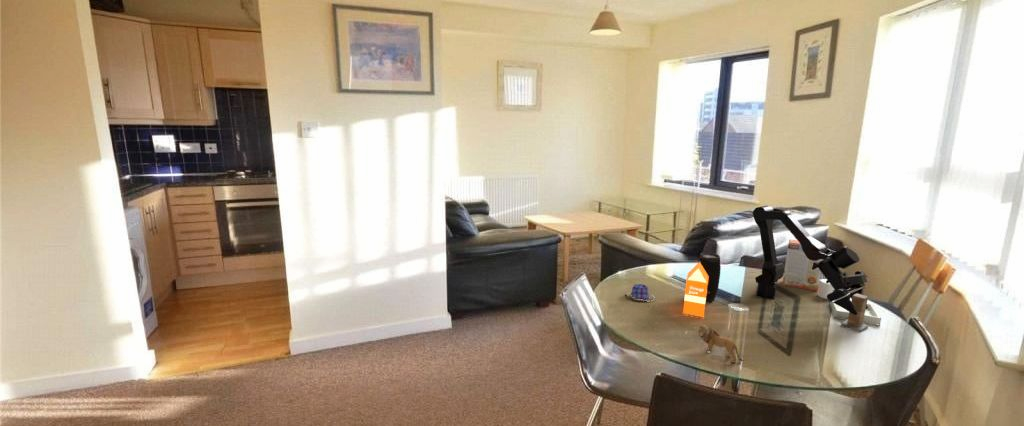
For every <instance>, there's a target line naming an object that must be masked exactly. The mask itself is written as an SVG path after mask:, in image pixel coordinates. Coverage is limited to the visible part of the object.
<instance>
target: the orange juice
mask: <svg viewBox="0 0 1024 426" xmlns="http://www.w3.org/2000/svg"><path fill="white" fill-rule="evenodd" d="M708 278H709V276H708V275H707V273H706V271H705V270H704V268H703V266H702V265H701V263H700V262H699V263H698V262H697V263H696V264H695V266H693V268H691V269H690V270H689V271H688V273H687V277H686V281H685V283H686V284H685V293H684V301H683V309H682V310H683V311H682V314H683V313H685V314H690V315H695V316H700V317H703V318H705V310H706V309H705V307H706V302H707V300H706V294H707V285H708Z"/></svg>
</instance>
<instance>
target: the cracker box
mask: <svg viewBox="0 0 1024 426" xmlns="http://www.w3.org/2000/svg"><path fill="white" fill-rule="evenodd" d="M822 244H823V245H824V246H825V247H826V244H824V243H822ZM822 260H824V259H820V260H817V261H813V260H809V259H808V258H807V257H806V255H805V254H804V252H803V250H802V247H801V244H800V243H799V241H798V240H797V239H789V240H788V245H787V251H786V258H785V264H784V271H785V273H784V275H783V277H782V285H783V286H788V287H793V288H799V289H803V290H804V289H805V290H809V291H815V292H818V289H819V279H821V276H822V275H821V274H822V272H821V271H820V270H819V268H816V269H814V270H812V266H813V263H814V262H820V261H822Z"/></svg>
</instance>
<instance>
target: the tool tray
mask: <svg viewBox="0 0 1024 426" xmlns="http://www.w3.org/2000/svg"><path fill="white" fill-rule="evenodd" d="M834 301H836V300H834ZM834 301H832V302H829V307H830V309H831V311H832V314H833V316H834V318H835V319H836V318H837V319H841V320H847V319H848V316H849V311H847V310H846V309H844V308H842V307H840V306H839V305H837V304H835V303H833V302H834ZM867 306H868V308H867V309H866V310H865V314H864V319H863V324H869V323H871V324H870V325H874V324H879V325H878V326H880V325H881V320H882V316H880V314H879V312H878V311H877V310H876V307H875V306H874V304H873V303H868V302H867Z"/></svg>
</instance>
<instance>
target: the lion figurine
mask: <svg viewBox="0 0 1024 426" xmlns="http://www.w3.org/2000/svg"><path fill="white" fill-rule="evenodd" d="M697 335H698V337H699V338H700V339H702V340H703V342H704V343H705V344H707V345H708V347H707V349H708V348H709V349H708V351H710V352H711V353H712V350H713V349H714V346H716V347H719V348H726V351H727V353H726V356H727V357H728V356H730V357H731V358H732V359H731V360H732V361H734V362H735V363H736V362H737V358H738V360H739V361H740V362H744V360H743V359H742V358H740V356H739V349H738V346H737V344H736V342H735V341H734V340H733V339H732V338H729V337H725V336H721V335H719V333H718V332H717V331H716V330H715V329H713V328H712V327H710V326H709V325H707V324H705V323H704V324H700V325H698V329H697ZM734 350H735V353H734Z"/></svg>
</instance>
